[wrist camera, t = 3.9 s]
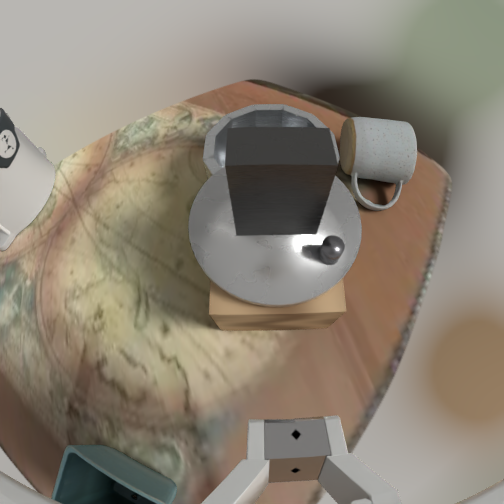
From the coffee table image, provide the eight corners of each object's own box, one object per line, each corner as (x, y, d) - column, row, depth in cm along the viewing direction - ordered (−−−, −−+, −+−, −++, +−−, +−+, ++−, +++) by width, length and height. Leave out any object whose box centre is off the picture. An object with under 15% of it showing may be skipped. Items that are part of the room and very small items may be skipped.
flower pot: (196, 472, 22) (169, 506, 14) (168, 532, 19) (137, 572, 11) (116, 431, 24) (66, 442, 15) (94, 491, 20) (46, 513, 12)
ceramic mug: (334, 143, 37) (345, 99, 30) (391, 151, 37) (409, 111, 30) (341, 211, 33) (359, 169, 26) (406, 217, 32) (433, 180, 25)
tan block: (221, 330, 28) (209, 314, 22) (224, 242, 32) (214, 205, 25) (327, 328, 28) (346, 311, 21) (319, 240, 31) (332, 204, 25)
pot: (210, 238, 32) (197, 201, 25) (217, 148, 37) (210, 106, 31) (333, 236, 31) (348, 199, 25) (318, 147, 37) (326, 105, 30)
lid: (184, 307, 21) (139, 260, 13) (198, 161, 27) (179, 85, 19) (369, 303, 21) (425, 255, 13) (344, 160, 27) (365, 85, 19)
